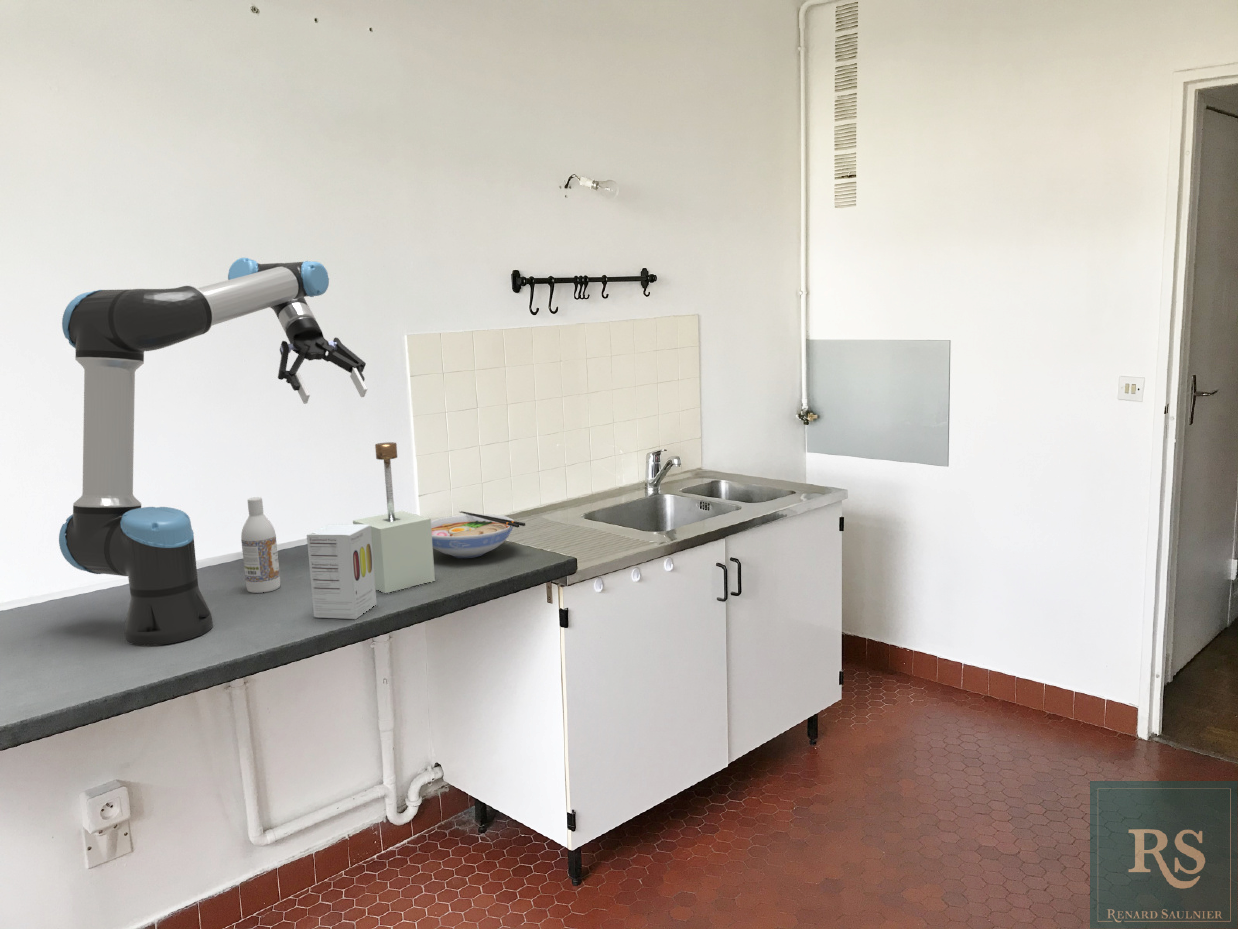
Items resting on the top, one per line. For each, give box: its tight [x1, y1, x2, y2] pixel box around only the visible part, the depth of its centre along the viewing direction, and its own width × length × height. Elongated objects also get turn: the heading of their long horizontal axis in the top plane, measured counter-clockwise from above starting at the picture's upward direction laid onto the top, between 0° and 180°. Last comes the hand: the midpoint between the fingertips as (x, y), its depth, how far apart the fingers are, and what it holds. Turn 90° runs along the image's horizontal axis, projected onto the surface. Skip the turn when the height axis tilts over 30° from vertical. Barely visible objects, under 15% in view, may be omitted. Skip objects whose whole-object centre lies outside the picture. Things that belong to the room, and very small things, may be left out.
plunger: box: [374, 441, 398, 522], centre depth 207 cm, size 9×9×19 cm
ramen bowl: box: [431, 510, 526, 559], centre depth 231 cm, size 25×23×8 cm
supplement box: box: [306, 523, 377, 620], centre depth 191 cm, size 10×9×17 cm
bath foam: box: [240, 496, 281, 594], centre depth 208 cm, size 7×7×20 cm
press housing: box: [352, 510, 436, 593], centre depth 210 cm, size 12×12×14 cm
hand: (336, 396), depth 215 cm, fingers open, 13 cm apart
